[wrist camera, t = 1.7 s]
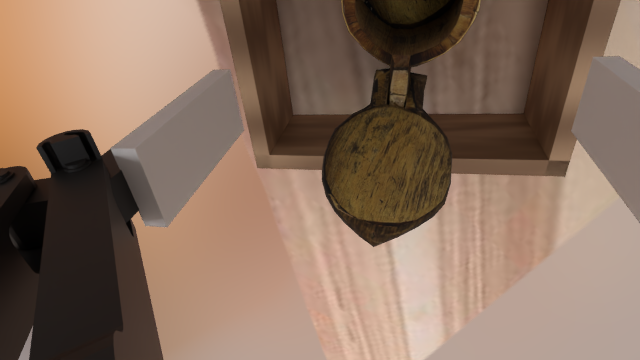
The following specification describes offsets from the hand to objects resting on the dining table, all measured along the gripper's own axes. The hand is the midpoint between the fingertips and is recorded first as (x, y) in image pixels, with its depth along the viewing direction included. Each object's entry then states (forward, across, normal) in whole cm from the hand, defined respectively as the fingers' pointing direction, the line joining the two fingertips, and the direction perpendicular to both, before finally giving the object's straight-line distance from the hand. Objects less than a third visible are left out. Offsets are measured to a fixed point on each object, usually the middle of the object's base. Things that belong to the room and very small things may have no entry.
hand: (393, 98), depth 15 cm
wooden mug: (+16, 0, 0) cm, 16 cm away
